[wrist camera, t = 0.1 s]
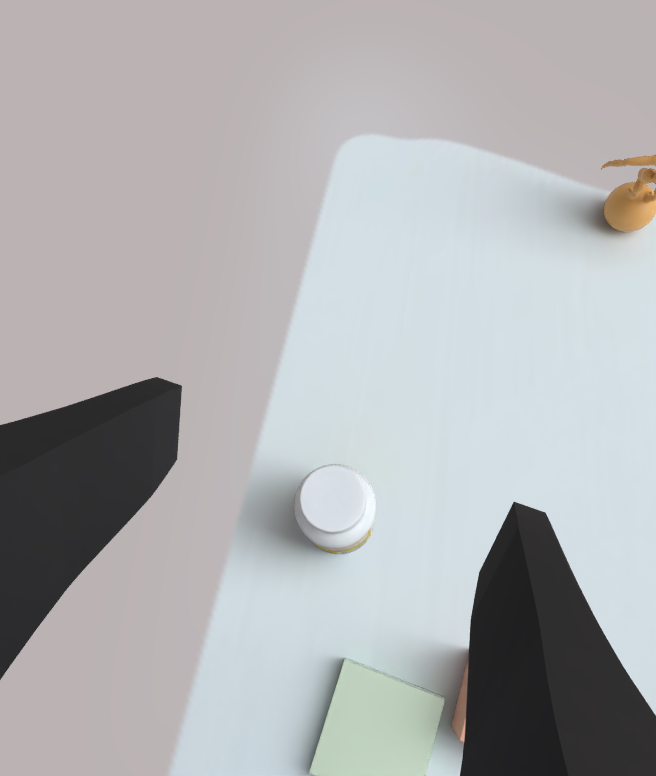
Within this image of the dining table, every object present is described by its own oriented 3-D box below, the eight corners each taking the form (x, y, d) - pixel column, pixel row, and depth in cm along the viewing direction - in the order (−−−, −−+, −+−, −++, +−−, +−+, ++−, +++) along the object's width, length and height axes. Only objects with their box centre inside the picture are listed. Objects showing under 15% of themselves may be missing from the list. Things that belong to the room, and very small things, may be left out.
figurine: (672, 212, 50) (762, 102, 38) (665, 270, 48) (757, 173, 37) (575, 193, 51) (634, 81, 40) (564, 250, 49) (623, 149, 38)
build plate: (412, 811, 36) (414, 818, 35) (310, 767, 38) (309, 772, 37) (442, 696, 38) (444, 699, 37) (345, 657, 40) (344, 660, 39)
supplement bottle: (359, 566, 42) (356, 560, 33) (293, 536, 43) (272, 523, 34) (385, 497, 43) (390, 474, 34) (321, 471, 44) (309, 441, 35)
